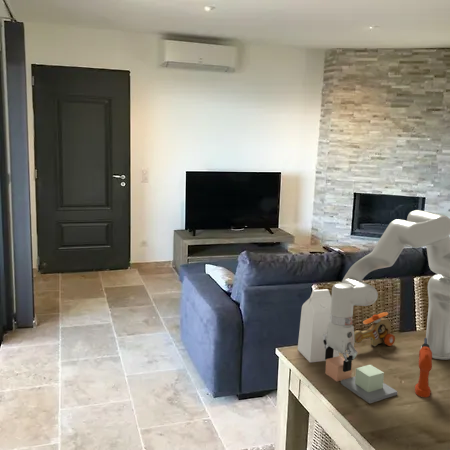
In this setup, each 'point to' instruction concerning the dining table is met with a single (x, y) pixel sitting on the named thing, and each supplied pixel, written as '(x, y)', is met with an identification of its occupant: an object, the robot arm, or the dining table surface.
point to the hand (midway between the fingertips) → (337, 364)
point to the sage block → (369, 378)
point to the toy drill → (424, 370)
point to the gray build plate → (369, 396)
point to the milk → (315, 326)
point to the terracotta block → (337, 369)
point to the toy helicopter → (376, 331)
